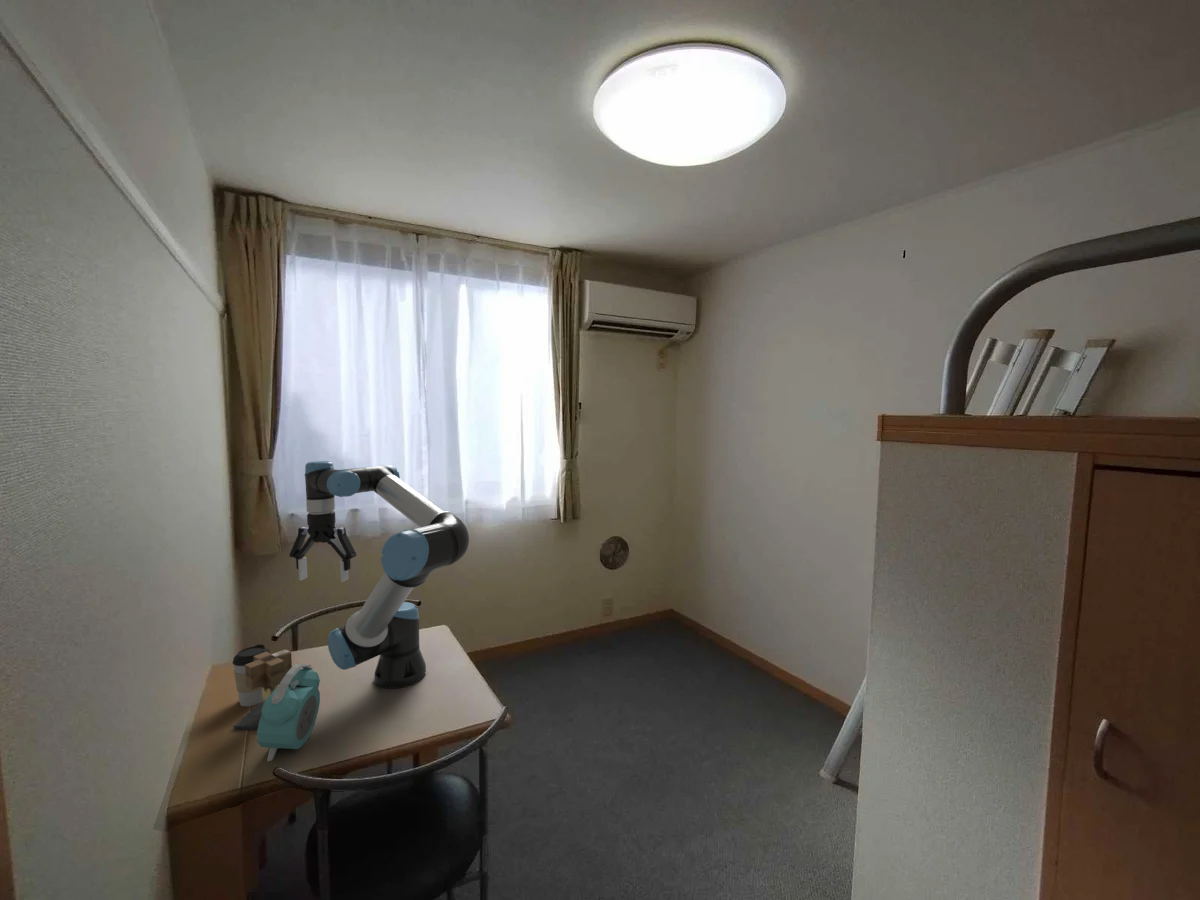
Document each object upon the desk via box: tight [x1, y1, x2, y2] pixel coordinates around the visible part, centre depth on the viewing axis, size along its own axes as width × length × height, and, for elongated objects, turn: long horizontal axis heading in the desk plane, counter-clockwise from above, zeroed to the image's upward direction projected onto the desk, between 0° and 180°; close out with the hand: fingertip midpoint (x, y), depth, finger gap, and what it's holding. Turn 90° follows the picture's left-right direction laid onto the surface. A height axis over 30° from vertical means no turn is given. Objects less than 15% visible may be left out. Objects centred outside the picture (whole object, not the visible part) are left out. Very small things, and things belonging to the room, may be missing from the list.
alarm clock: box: [256, 663, 321, 762], centre depth 124 cm, size 17×10×20 cm, turn 5°
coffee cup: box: [232, 643, 272, 707], centre depth 143 cm, size 9×9×15 cm
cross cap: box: [245, 649, 293, 690], centre depth 135 cm, size 10×10×7 cm
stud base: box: [232, 685, 279, 731], centre depth 136 cm, size 12×12×9 cm
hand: (324, 580), depth 153 cm, fingers open, 13 cm apart
